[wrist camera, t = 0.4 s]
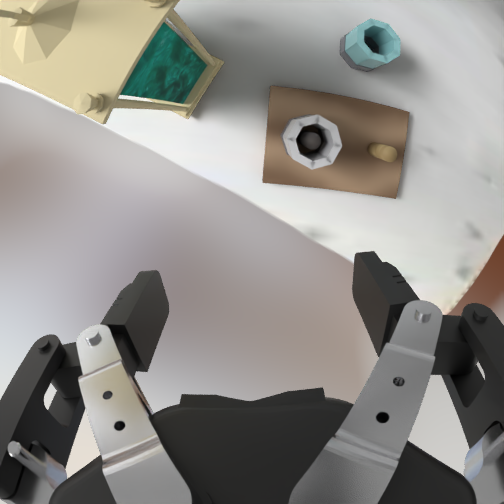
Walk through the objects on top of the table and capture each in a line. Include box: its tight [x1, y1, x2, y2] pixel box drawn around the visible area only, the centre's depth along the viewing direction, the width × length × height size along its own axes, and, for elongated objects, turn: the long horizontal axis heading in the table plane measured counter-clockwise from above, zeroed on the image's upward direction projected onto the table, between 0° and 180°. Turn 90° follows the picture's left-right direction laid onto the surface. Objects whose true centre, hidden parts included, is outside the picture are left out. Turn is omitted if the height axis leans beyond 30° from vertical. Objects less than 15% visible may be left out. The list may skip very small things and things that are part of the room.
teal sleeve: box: [340, 19, 400, 71], centre depth 25 cm, size 5×5×6 cm
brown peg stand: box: [263, 86, 409, 199], centre depth 31 cm, size 12×18×6 cm, turn 86°
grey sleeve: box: [280, 114, 342, 169], centre depth 29 cm, size 5×5×6 cm
